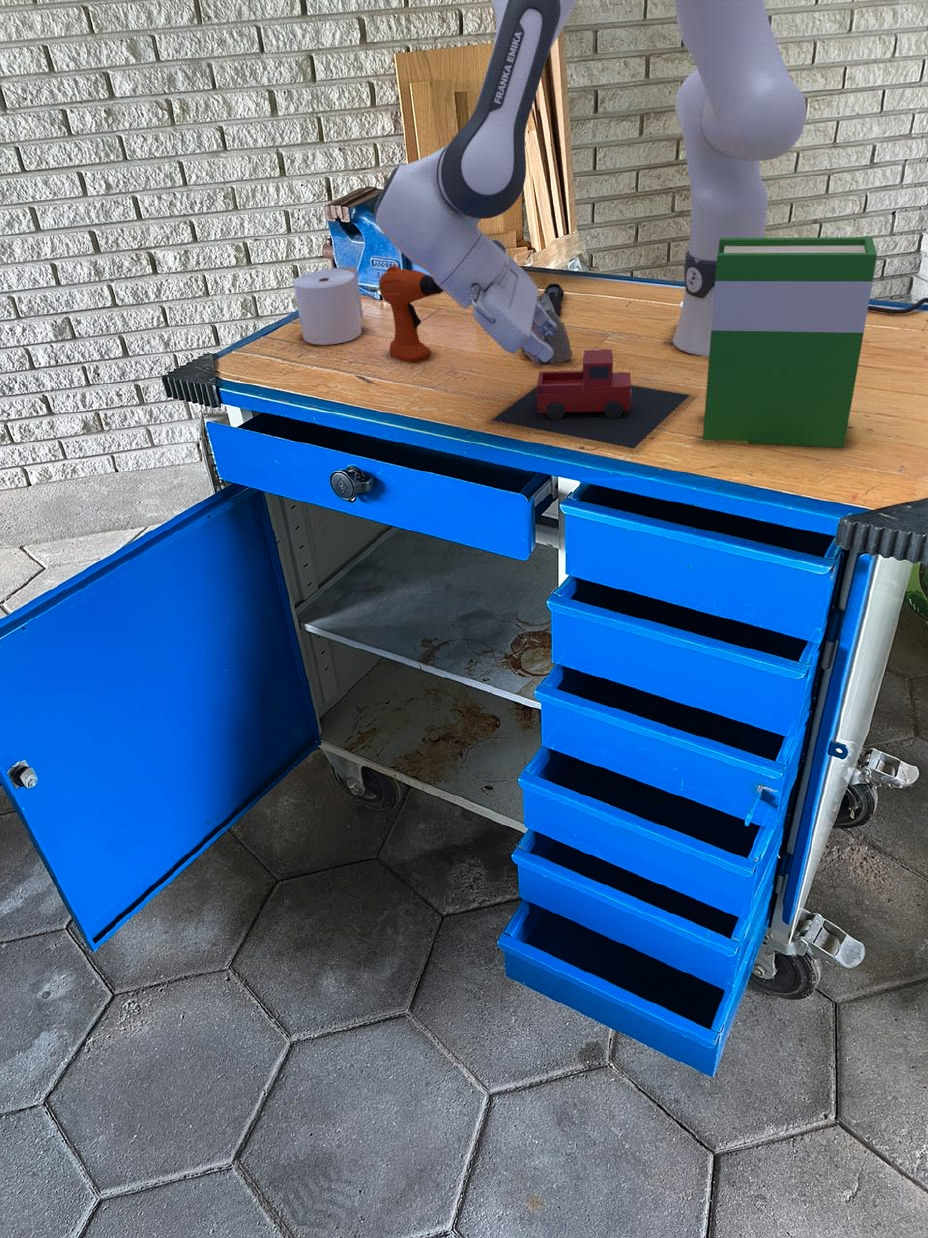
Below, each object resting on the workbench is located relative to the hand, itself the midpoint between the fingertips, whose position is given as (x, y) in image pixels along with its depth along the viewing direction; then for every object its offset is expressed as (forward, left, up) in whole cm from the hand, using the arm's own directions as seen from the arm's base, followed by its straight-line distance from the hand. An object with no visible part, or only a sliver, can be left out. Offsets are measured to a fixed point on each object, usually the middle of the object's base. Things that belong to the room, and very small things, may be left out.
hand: (551, 344), depth 132 cm
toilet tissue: (+13, -53, -10) cm, 56 cm away
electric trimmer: (-24, -38, -10) cm, 46 cm away
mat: (-5, +2, -10) cm, 12 cm away
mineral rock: (-12, -21, -10) cm, 27 cm away
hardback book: (-20, +23, -10) cm, 32 cm away
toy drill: (+5, -30, -10) cm, 32 cm away
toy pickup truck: (-4, +3, -10) cm, 11 cm away
